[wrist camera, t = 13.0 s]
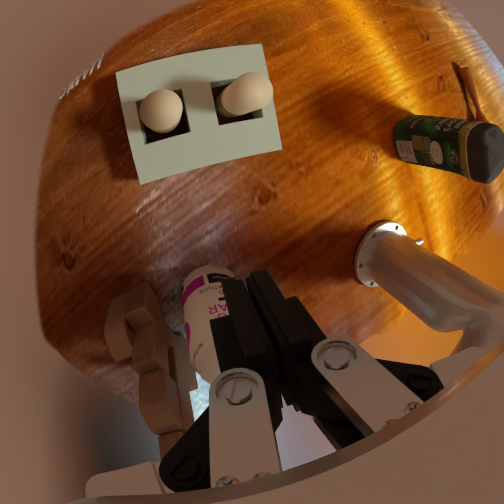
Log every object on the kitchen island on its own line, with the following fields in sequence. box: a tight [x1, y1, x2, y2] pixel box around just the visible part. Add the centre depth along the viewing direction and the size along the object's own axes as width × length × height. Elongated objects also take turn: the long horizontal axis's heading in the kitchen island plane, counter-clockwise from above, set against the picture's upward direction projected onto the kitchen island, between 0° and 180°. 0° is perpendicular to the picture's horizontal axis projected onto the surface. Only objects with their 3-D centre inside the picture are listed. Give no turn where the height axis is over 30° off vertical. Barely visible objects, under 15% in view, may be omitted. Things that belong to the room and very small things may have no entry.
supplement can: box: [181, 265, 237, 384], centre depth 32 cm, size 8×8×15 cm
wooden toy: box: [104, 281, 198, 460], centre depth 27 cm, size 15×7×25 cm, turn 20°
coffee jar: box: [394, 115, 504, 184], centre depth 30 cm, size 10×8×19 cm
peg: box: [140, 89, 183, 134], centre depth 23 cm, size 4×4×10 cm
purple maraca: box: [457, 67, 489, 123], centre depth 37 cm, size 6×6×20 cm
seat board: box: [116, 44, 282, 185], centre depth 24 cm, size 16×13×10 cm
